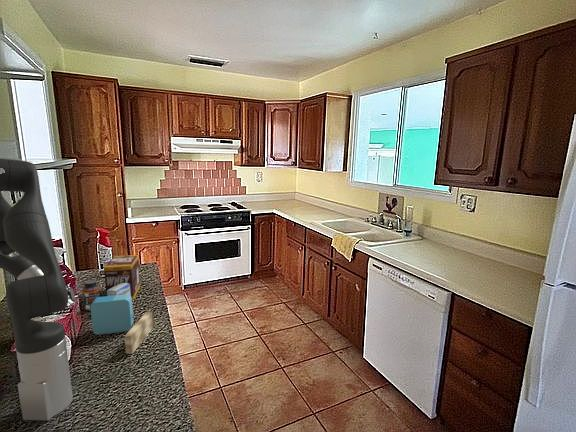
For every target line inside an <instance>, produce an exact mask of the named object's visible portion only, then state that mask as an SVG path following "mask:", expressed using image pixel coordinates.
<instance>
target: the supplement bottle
mask: <svg viewBox="0 0 576 432" xmlns="http://www.w3.org/2000/svg"><path fill="white" fill-rule="evenodd" d="M81 291H82V294H81V295H82V302H83V309H84V310H85V311H86V312H91V308H90V306H91V304H92V303H93V301H94V300H95V299H96V298H97V297H101V289H100V285H98V282H97V280H95V279H89V280H86V281H84V287H82V290H81Z"/></svg>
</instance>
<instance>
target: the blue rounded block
mask: <svg viewBox="0 0 576 432" xmlns="http://www.w3.org/2000/svg"><path fill="white" fill-rule="evenodd" d="M90 308H91V311H90V315H91V316H90V317H91V325H92V332H93V334H94V335H98V336H99V335H107V334H114V333H115V334H116V333H123V332H129V331H130V330H131V328H132V327H133V323H134V311H133V310H134V309H133V300H132V297H131V296H130V295H128V294H126V295H115V296H100V297H97V298H96V299H95V300H94V301H93V303H92V304H91V306H90Z"/></svg>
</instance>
